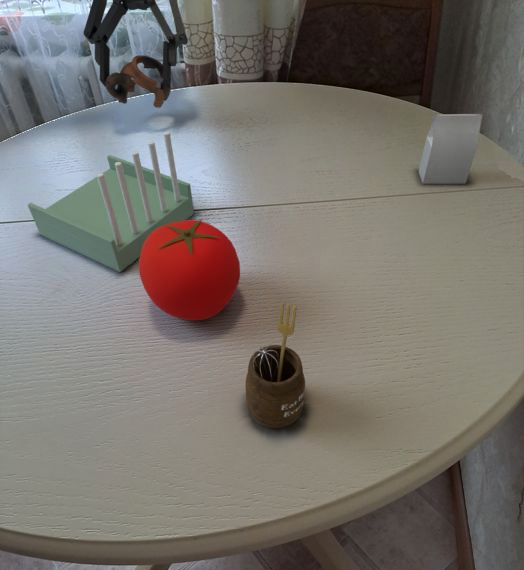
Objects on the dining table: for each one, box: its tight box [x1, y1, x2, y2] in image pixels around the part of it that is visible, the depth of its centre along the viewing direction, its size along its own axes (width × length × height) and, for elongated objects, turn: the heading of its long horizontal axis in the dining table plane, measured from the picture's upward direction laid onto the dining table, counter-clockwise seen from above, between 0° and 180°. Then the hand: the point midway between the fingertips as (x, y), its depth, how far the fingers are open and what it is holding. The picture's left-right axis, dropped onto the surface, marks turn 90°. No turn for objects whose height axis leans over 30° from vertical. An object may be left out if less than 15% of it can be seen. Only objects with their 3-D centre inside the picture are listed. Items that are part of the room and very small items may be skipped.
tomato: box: [138, 218, 241, 321], centre depth 59 cm, size 12×12×10 cm
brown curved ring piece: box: [105, 54, 172, 109], centre depth 90 cm, size 12×10×8 cm
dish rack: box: [27, 131, 195, 273], centre depth 69 cm, size 16×16×13 cm
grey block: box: [418, 113, 483, 185], centre depth 77 cm, size 4×7×10 cm, turn 89°
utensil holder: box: [245, 301, 306, 429], centre depth 48 cm, size 6×6×12 cm
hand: (135, 84), depth 87 cm, fingers closed on brown curved ring piece, 10 cm apart
